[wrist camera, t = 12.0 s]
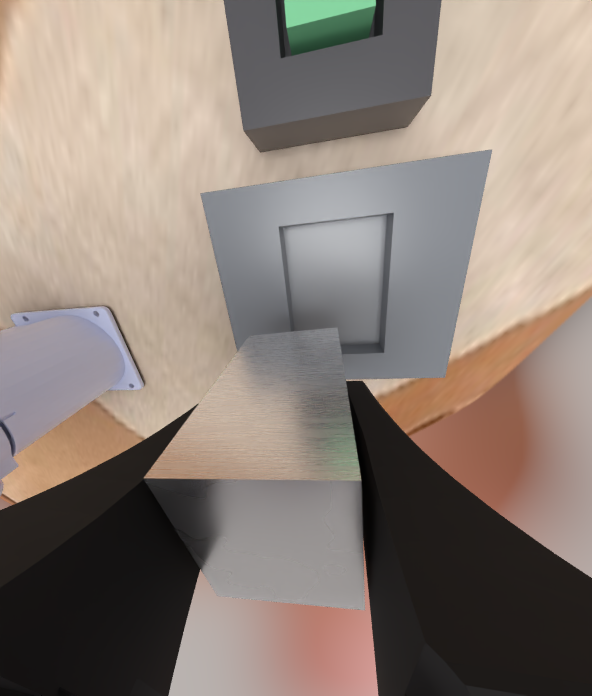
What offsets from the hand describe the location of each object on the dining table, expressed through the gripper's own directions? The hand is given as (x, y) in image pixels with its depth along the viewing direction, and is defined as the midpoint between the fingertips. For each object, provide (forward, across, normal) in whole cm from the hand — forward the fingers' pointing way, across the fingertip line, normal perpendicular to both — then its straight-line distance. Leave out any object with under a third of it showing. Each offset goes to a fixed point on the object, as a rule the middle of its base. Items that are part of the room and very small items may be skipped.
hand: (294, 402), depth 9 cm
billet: (+2, 0, 0) cm, 2 cm away
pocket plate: (+9, -2, -3) cm, 10 cm away
